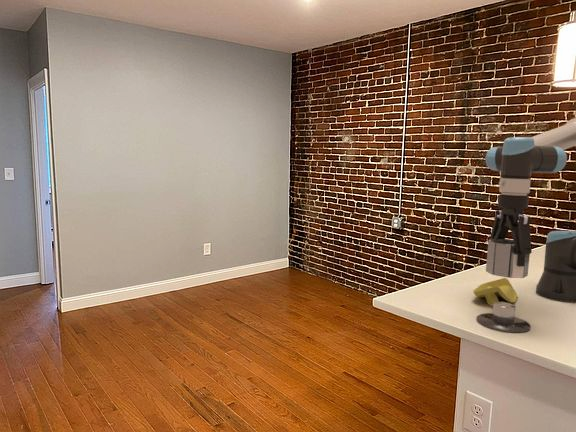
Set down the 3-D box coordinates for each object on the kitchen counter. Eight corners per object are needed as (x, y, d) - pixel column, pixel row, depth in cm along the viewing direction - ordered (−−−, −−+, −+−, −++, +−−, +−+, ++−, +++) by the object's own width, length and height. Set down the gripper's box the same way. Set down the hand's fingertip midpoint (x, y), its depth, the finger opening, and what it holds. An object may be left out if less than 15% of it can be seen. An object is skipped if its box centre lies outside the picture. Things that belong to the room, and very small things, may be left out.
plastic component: (481, 284, 158) (510, 276, 152) (489, 304, 156) (518, 296, 151) (469, 293, 141) (501, 285, 136) (478, 315, 140) (511, 308, 135)
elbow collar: (513, 268, 129) (516, 238, 128) (534, 278, 119) (537, 245, 118) (480, 268, 129) (483, 238, 127) (498, 277, 119) (501, 245, 117)
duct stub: (511, 314, 133) (512, 296, 133) (541, 332, 119) (543, 313, 119) (467, 315, 132) (468, 297, 131) (493, 333, 118) (494, 314, 117)
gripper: (481, 190, 132) (475, 262, 135) (523, 197, 110) (515, 283, 112) (505, 191, 132) (499, 263, 135) (553, 197, 110) (544, 283, 113)
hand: (506, 272), depth 124 cm, fingers closed on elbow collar, 10 cm apart
